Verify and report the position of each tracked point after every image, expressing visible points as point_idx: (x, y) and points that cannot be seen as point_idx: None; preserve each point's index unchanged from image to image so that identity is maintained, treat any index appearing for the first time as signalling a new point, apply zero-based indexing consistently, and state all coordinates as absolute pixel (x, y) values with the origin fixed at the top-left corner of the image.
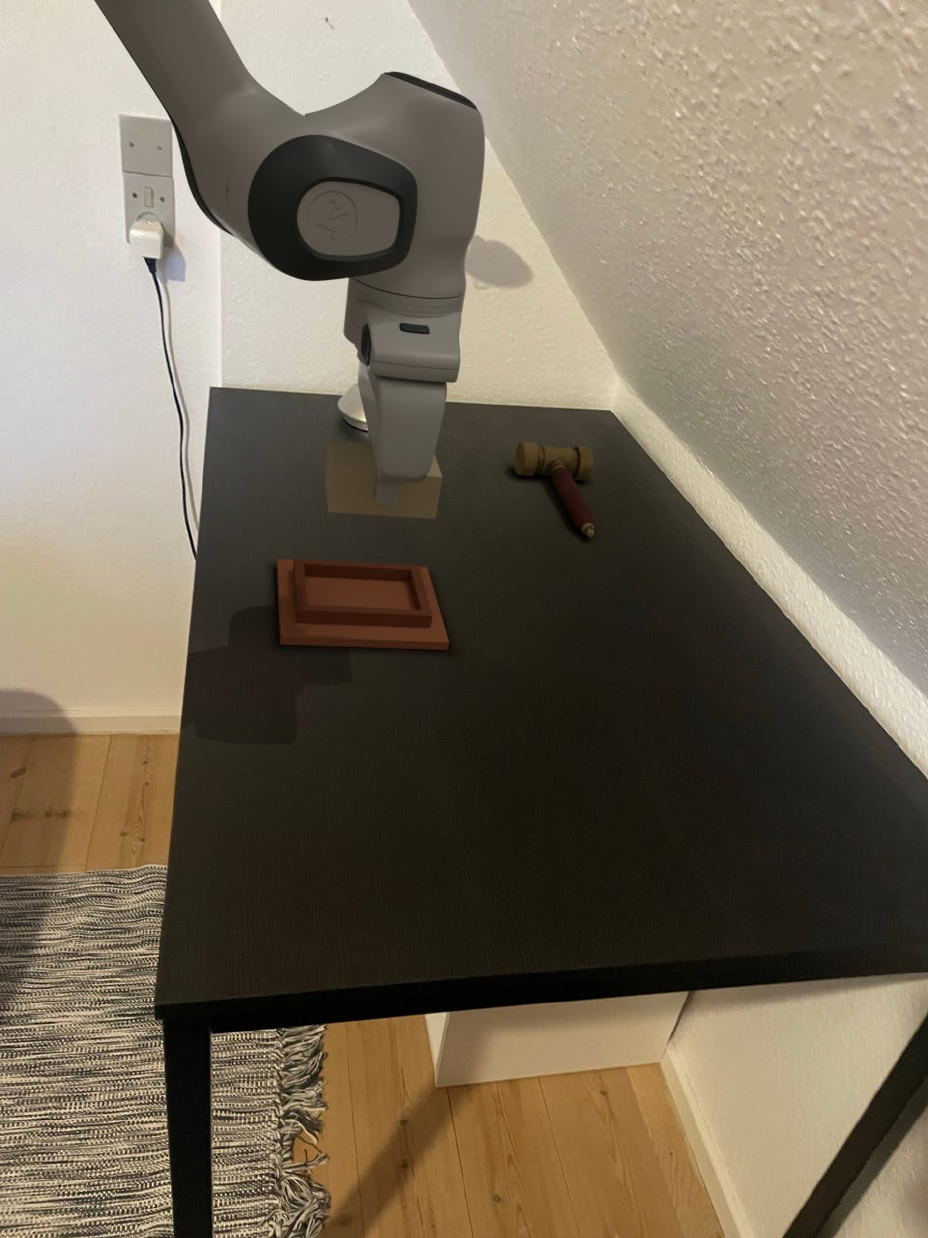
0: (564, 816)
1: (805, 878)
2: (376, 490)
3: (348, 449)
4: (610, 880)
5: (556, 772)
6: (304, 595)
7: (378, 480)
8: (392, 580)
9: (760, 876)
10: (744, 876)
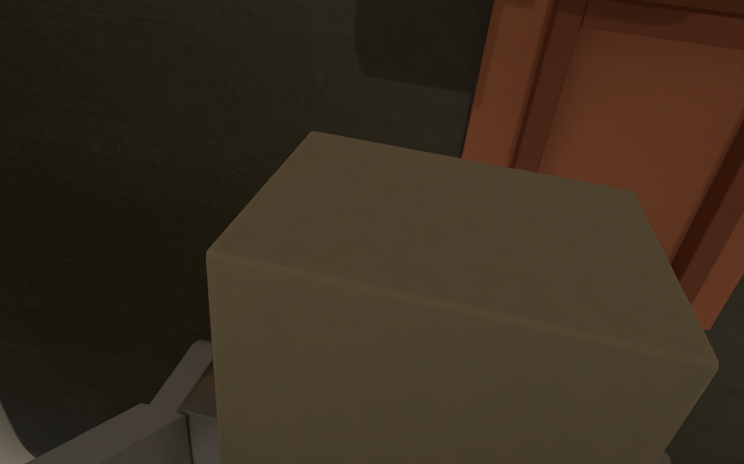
0: (95, 268)
1: (61, 420)
2: (187, 374)
3: (517, 425)
4: (14, 270)
5: (167, 292)
6: (625, 26)
7: (105, 422)
8: (679, 250)
9: (55, 391)
10: (51, 380)
